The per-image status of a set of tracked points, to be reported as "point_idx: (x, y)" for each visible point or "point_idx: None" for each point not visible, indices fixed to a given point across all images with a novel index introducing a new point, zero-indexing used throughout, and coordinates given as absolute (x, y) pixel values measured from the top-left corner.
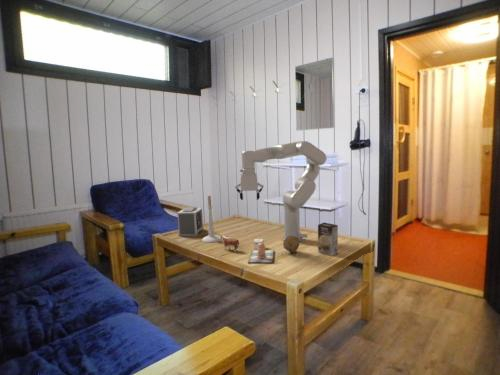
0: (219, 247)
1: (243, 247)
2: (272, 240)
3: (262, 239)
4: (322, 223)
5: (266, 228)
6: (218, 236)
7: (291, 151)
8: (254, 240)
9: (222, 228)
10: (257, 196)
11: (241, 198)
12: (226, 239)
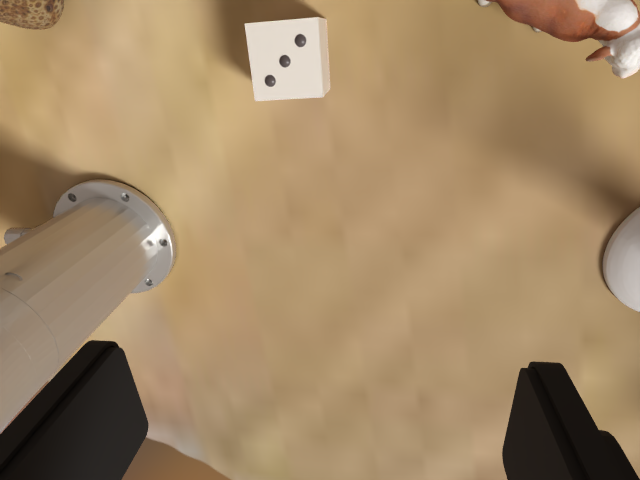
0: None
1: (418, 71)
2: (235, 228)
3: (256, 84)
4: None
5: (312, 434)
6: (637, 273)
7: None
8: (319, 52)
9: None
10: (41, 405)
11: (563, 397)
12: None
